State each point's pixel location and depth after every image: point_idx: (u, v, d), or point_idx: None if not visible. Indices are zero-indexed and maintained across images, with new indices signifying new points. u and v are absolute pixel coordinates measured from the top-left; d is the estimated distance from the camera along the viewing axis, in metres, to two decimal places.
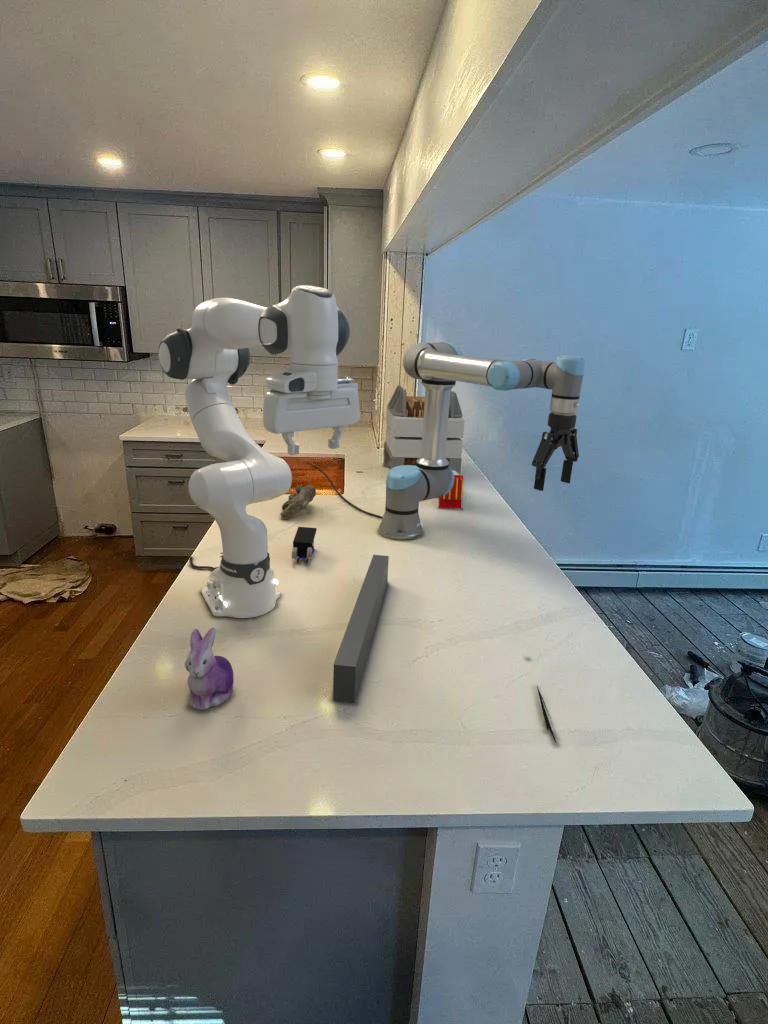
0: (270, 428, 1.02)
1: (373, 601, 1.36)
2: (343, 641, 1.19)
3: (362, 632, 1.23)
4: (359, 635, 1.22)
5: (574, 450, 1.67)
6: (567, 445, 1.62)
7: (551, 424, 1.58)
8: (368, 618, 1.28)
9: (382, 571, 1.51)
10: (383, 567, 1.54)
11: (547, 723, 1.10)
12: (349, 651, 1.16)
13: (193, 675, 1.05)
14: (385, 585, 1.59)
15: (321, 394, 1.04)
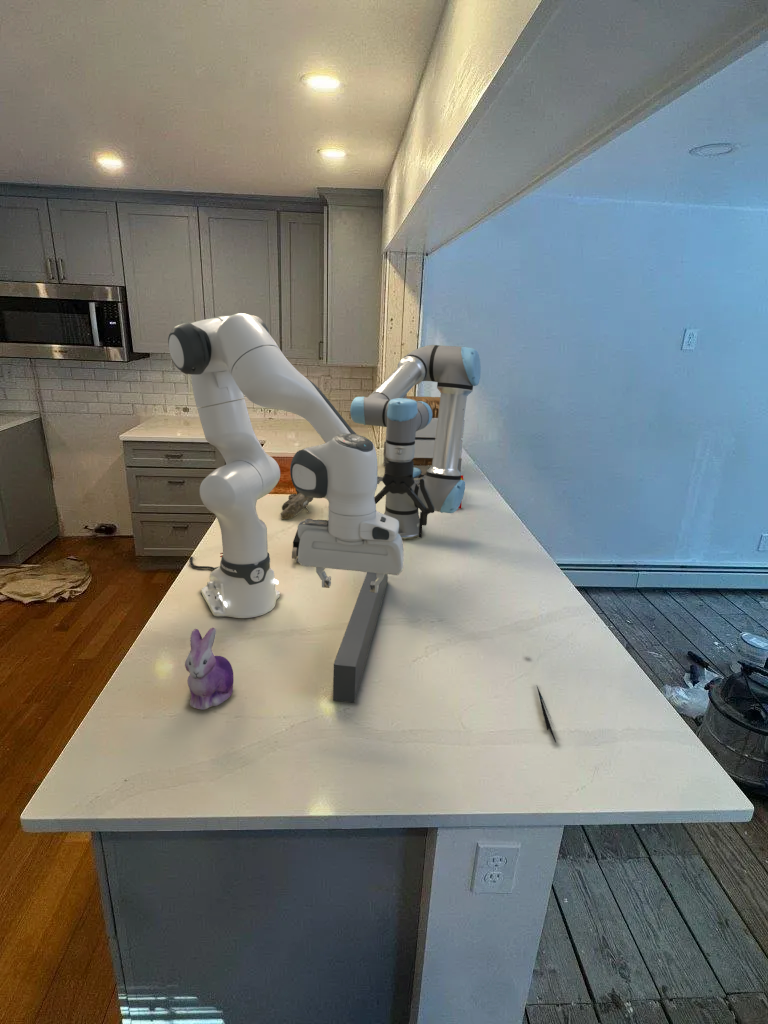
0: (403, 565, 1.08)
1: (373, 601, 1.36)
2: (343, 641, 1.19)
3: (362, 632, 1.23)
4: (359, 635, 1.22)
5: (426, 503, 1.51)
6: None
7: None
8: (368, 618, 1.28)
9: None
10: None
11: (547, 723, 1.10)
12: (349, 651, 1.16)
13: (193, 675, 1.05)
14: (385, 585, 1.59)
15: None
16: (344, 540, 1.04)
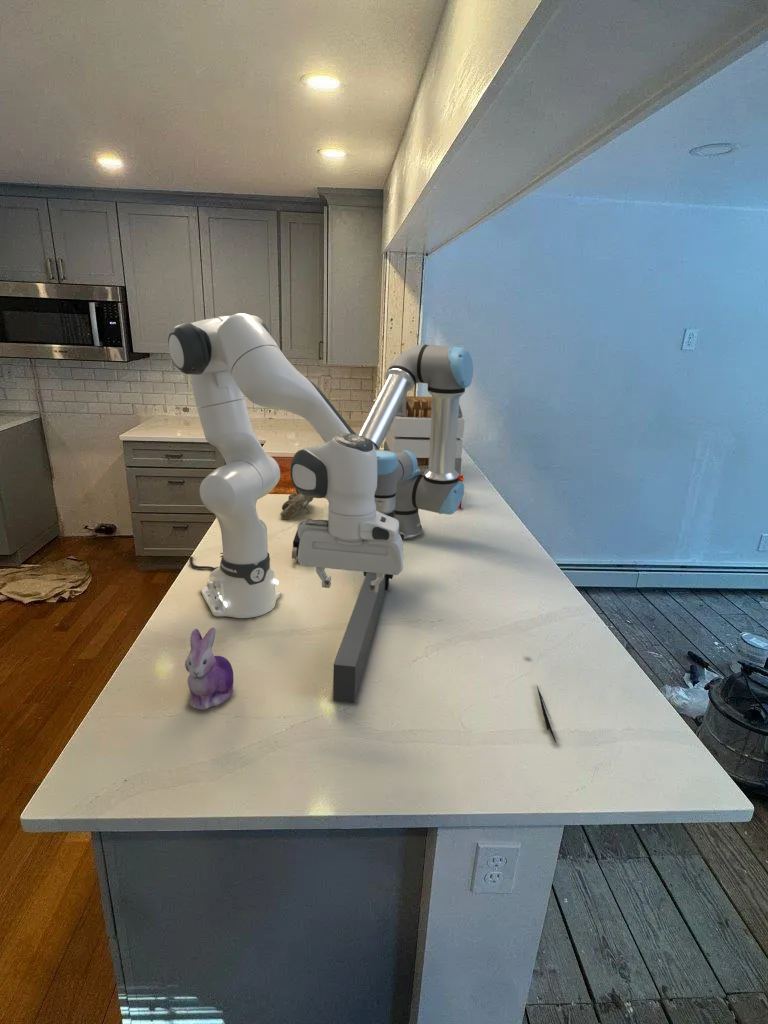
0: (403, 565, 1.08)
1: (373, 601, 1.36)
2: (343, 641, 1.19)
3: (362, 632, 1.23)
4: (359, 635, 1.22)
5: None
6: None
7: None
8: (368, 618, 1.28)
9: None
10: None
11: (547, 723, 1.10)
12: (349, 651, 1.16)
13: (193, 675, 1.05)
14: None
15: None
16: (344, 540, 1.04)
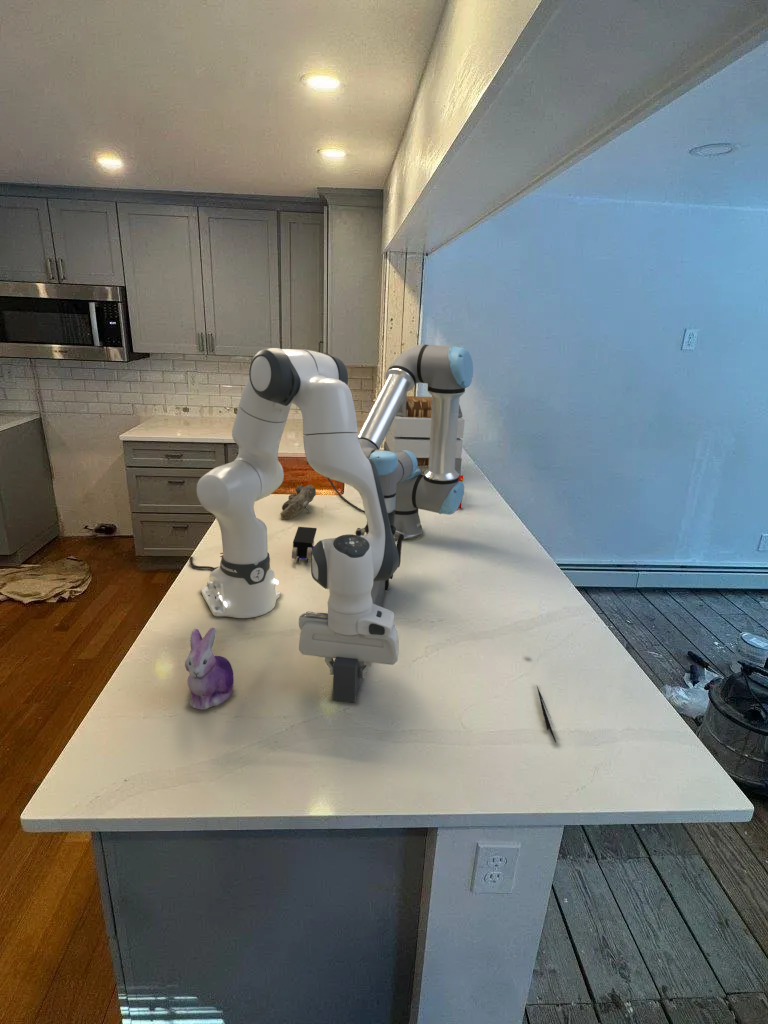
0: (398, 654, 1.15)
1: (373, 601, 1.36)
2: None
3: None
4: None
5: None
6: None
7: None
8: None
9: None
10: None
11: (547, 723, 1.10)
12: None
13: (193, 675, 1.05)
14: None
15: None
16: (342, 634, 1.10)
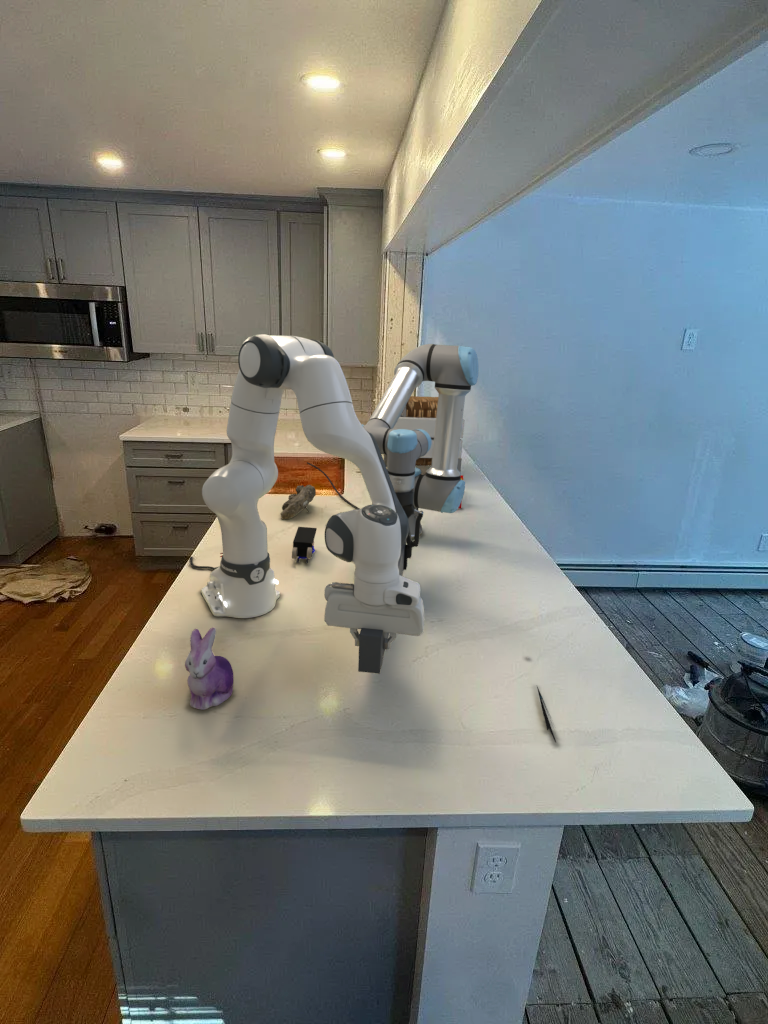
0: None
1: None
2: None
3: None
4: None
5: (414, 535, 1.55)
6: None
7: None
8: None
9: (401, 550, 1.51)
10: (402, 546, 1.54)
11: (547, 723, 1.10)
12: None
13: (193, 675, 1.05)
14: (403, 565, 1.59)
15: None
16: (369, 604, 1.10)
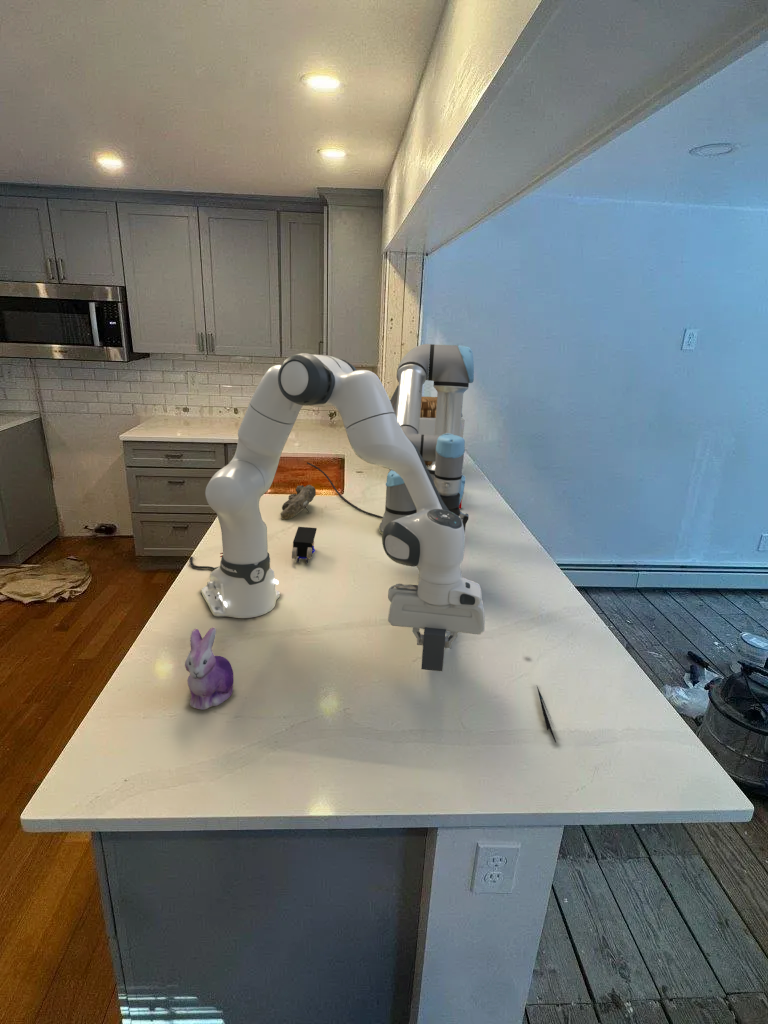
0: None
1: None
2: None
3: None
4: None
5: None
6: None
7: None
8: None
9: None
10: None
11: (547, 723, 1.10)
12: None
13: (193, 675, 1.05)
14: None
15: None
16: (433, 604, 1.15)
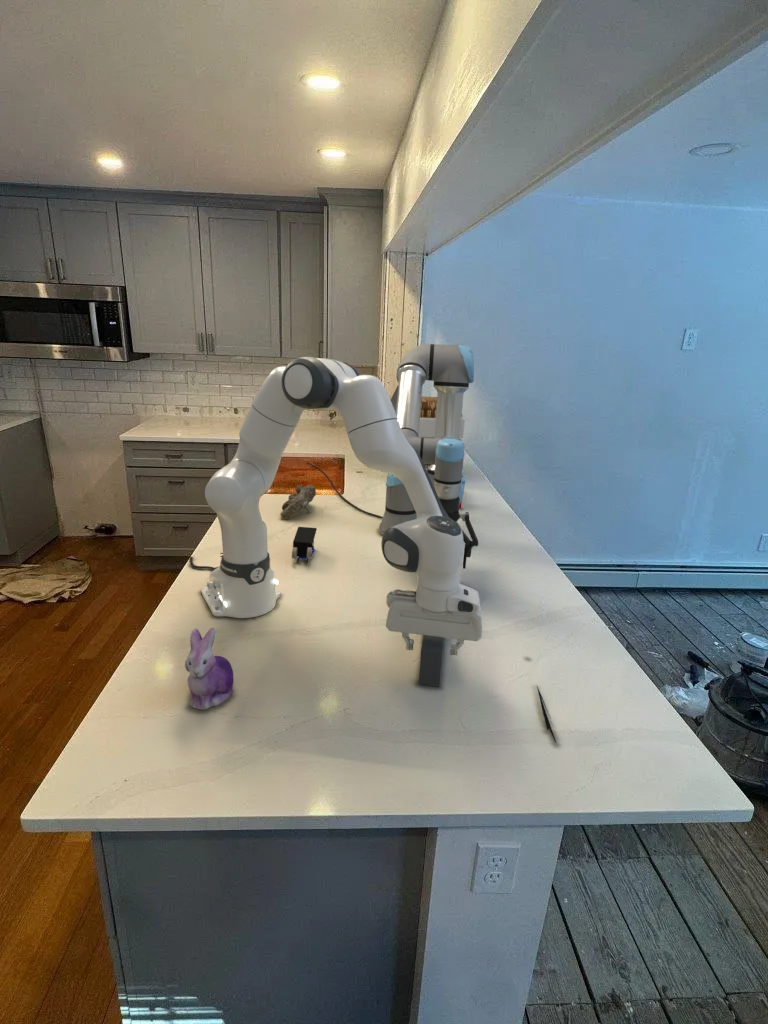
0: None
1: None
2: None
3: None
4: None
5: (471, 537, 1.60)
6: None
7: None
8: None
9: None
10: None
11: (547, 723, 1.10)
12: (433, 638, 1.22)
13: (193, 675, 1.05)
14: None
15: None
16: (431, 611, 1.15)
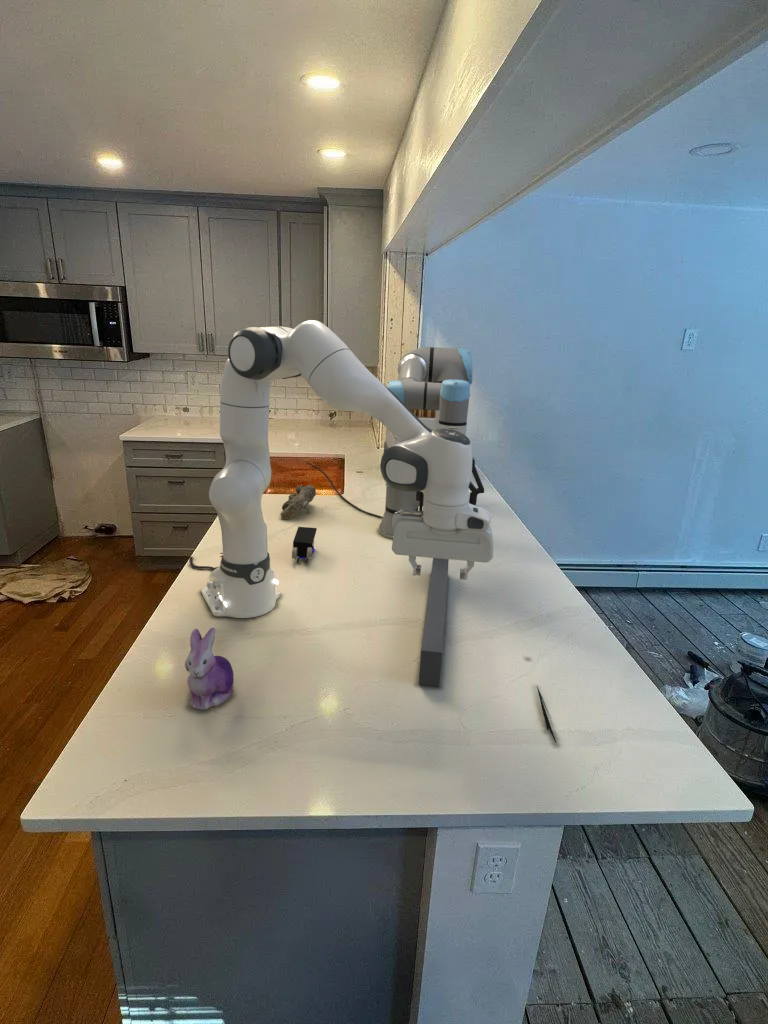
0: None
1: (444, 592, 1.42)
2: (425, 629, 1.25)
3: (441, 621, 1.28)
4: (438, 623, 1.27)
5: None
6: None
7: None
8: (443, 608, 1.34)
9: (446, 564, 1.57)
10: (446, 560, 1.60)
11: (547, 723, 1.10)
12: (433, 638, 1.22)
13: (193, 675, 1.05)
14: None
15: None
16: (439, 529, 1.09)
